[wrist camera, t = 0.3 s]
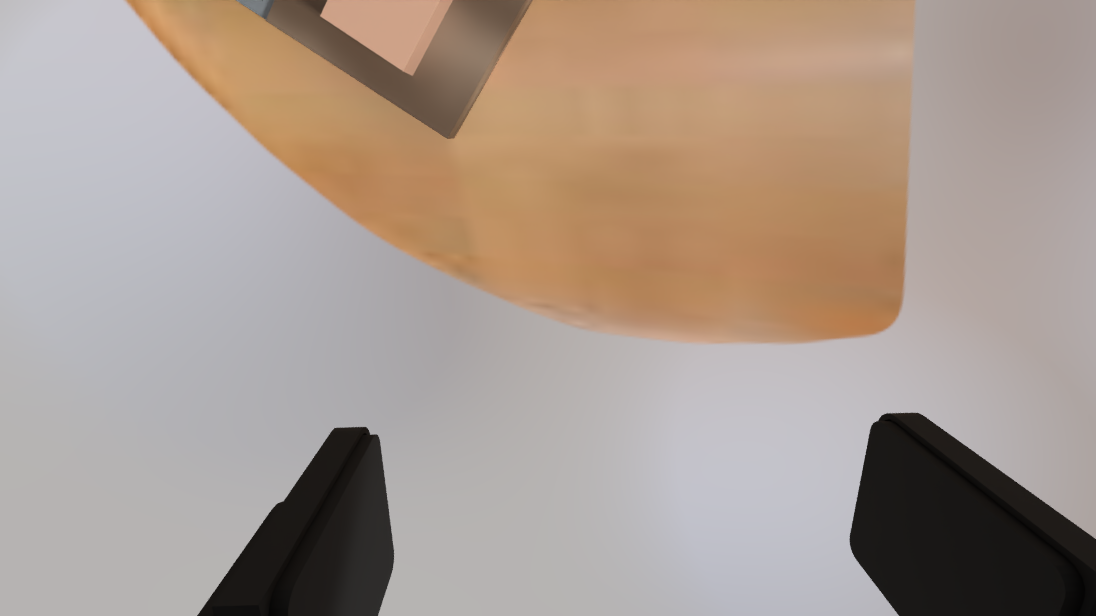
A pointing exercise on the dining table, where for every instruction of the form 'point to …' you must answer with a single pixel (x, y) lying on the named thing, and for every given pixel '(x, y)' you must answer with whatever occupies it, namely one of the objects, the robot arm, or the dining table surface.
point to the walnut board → (444, 71)
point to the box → (258, 6)
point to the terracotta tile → (390, 26)
